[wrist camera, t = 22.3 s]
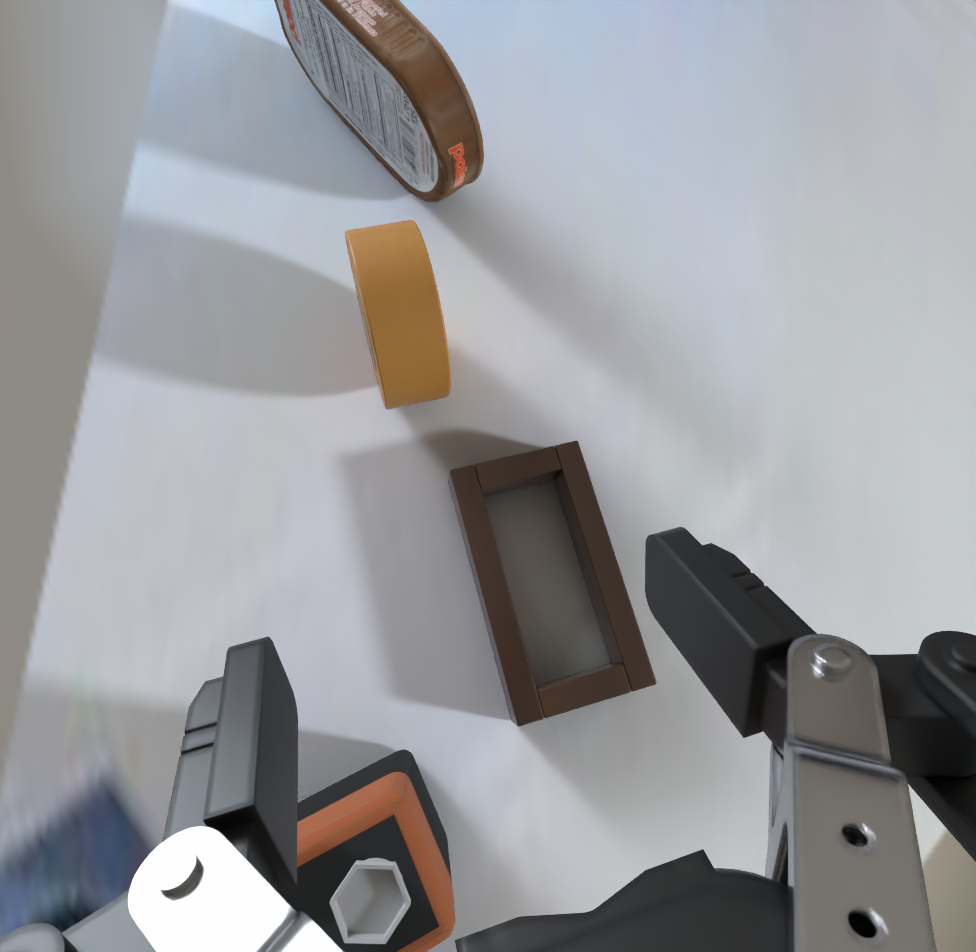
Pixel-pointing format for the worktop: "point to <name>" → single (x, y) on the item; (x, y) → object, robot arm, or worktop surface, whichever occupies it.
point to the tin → (390, 88)
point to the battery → (375, 861)
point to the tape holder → (597, 567)
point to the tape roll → (400, 312)
